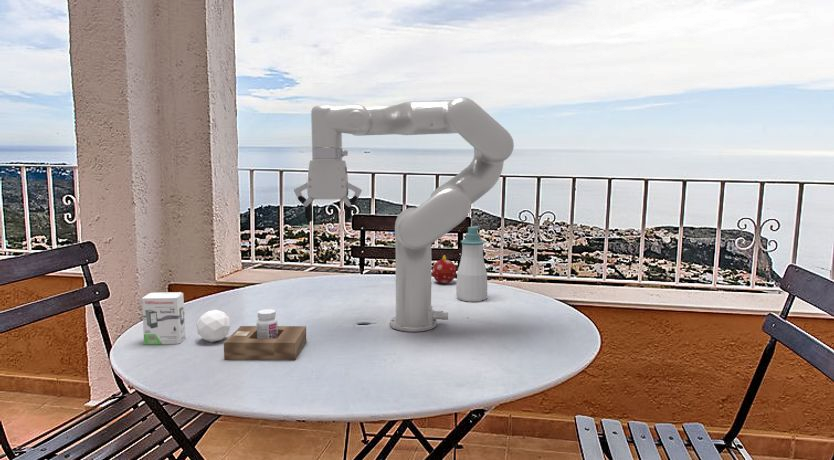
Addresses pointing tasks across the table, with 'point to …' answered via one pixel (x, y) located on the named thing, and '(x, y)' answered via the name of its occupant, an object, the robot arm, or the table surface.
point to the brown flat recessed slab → (265, 344)
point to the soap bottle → (472, 269)
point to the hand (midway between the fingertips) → (328, 221)
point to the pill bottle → (267, 324)
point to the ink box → (163, 318)
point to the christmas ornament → (444, 270)
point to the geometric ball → (213, 325)
